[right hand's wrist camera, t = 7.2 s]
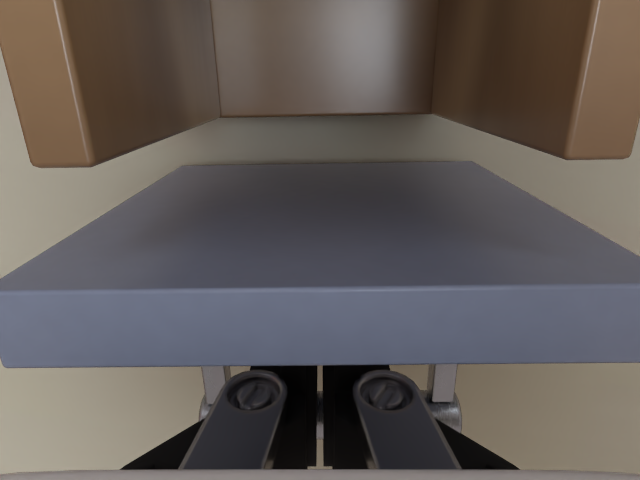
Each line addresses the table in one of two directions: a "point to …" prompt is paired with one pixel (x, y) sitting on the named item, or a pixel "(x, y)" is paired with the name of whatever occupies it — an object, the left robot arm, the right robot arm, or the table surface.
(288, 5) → the drawer
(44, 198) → the table surface
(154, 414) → the table surface
